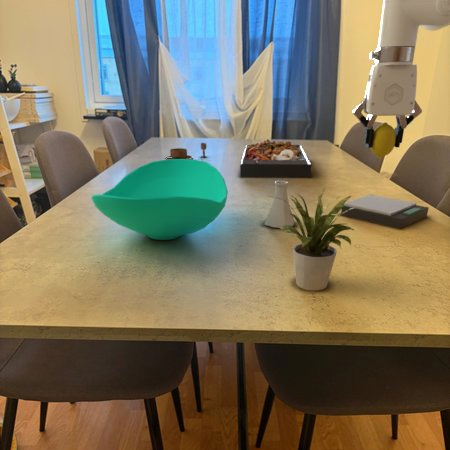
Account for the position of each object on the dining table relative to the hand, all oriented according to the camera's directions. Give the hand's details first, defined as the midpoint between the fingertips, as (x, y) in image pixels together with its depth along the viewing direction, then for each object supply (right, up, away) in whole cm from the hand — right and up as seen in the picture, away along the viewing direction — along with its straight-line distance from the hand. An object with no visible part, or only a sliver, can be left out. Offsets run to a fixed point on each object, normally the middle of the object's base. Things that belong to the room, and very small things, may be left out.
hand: (382, 146), depth 100 cm
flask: (-23, -18, +4) cm, 30 cm away
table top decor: (-50, -21, -3) cm, 54 cm away
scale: (+3, -14, +10) cm, 17 cm away
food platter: (-17, +17, +71) cm, 75 cm away
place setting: (-52, +23, +82) cm, 100 cm away
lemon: (0, -3, +1) cm, 3 cm away
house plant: (-23, -33, -27) cm, 48 cm away
